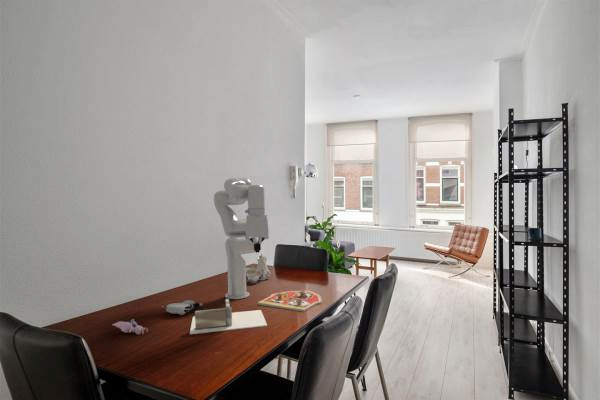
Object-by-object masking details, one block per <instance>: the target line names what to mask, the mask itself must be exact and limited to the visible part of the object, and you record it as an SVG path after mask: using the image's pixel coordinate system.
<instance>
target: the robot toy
mask: <svg viewBox="0 0 600 400" xmlns="http://www.w3.org/2000/svg"><path fill="white" fill-rule="evenodd" d="M202 306H203V303H200V302H195V301H193V300H191V299H190V300H189V299H186V300H183V301H181V302H174V303H173V302H172V303H169V304H167V305H166V306H164V305H162V308H165V311H166V312H167V313H170V314H171V315H175V314H176V315H177V314H178V315H179V316H184V315H185V314H187V313H189V312H190V311H191V310H193V309H194V308H199V307H202Z"/></svg>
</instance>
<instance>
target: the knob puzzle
mask: <svg viewBox="0 0 600 400" xmlns="http://www.w3.org/2000/svg"><path fill="white" fill-rule="evenodd" d="M322 303H323V299H322V297H321V295H320V294H318V293H316V292H314V291H311V290H309V289H308V290H288V291H281V292H276V293H275V292H274V293H270V295H269V296H268V297H266V298H264V299H262V300H259V301H258V302H257V305H258V306H264V307H271V308H275V309H276V308H278V309H283V310H290V311H297V312H303V313H304V312H306V311H308V310H310V309H312V308H314V307H315V306H317V305H322Z"/></svg>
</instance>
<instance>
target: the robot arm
mask: <svg viewBox="0 0 600 400" xmlns="http://www.w3.org/2000/svg"><path fill="white" fill-rule="evenodd" d="M223 187H224V188H223V190H218V191H216V192H215V193H214V195H213V203H214V204H213V205H214V206H215V210H216V212H217V214H218V215H219V216H220V220H221V223H222V228H223V231H224V234H225V235H226V237H227V239H226V240H225V243H224V245H225V247H224V248H225V252H226V259H227V288H228V289H227V290H228V291H227V293H225V295H224V297H225V298H226V299H229V300H241V299H245V298H248V297H249V296H250V292H249V291H247V275H246V268H247V264H246V263H247V262H246V260H245V259H244V258H243V256H242V255H246V254H254V253H256V254H257V253H260V252H261V251H262V246H261V244H262V243H263V241H266V240H268V239H269V238H270V237H269V222H268V215H267V214H265V212H266V210H265V186H263V185H261V184H253V185H252V182H251V180H250V179H249V178H247V177H231V178H228V179H226V180H225V181H224V184H223ZM246 202H247V209H245V210H244V213H245V214H247V215H246V218H245V219H241V218H238V216H237V213H236V212H235V211H234V209H233V208H231V207H230V206H239V205H240V206H241V205H243V204H245V203H246Z"/></svg>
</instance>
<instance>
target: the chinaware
mask: <svg viewBox="0 0 600 400" xmlns="http://www.w3.org/2000/svg"><path fill="white" fill-rule="evenodd" d="M256 259H257V266H256V268H255V267H246V278H247V280H248V281H249V282H250V284H256V283H257V282H258V281H266V280H265V279H268V278H269V279H270V276H271V275H272V274H271V271H270V270H269V268H268V265H267V259H268V257H267V256H264V253H261V254H260V255H259V256H258V257H257V258H256ZM269 279H268V280H269Z"/></svg>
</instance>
